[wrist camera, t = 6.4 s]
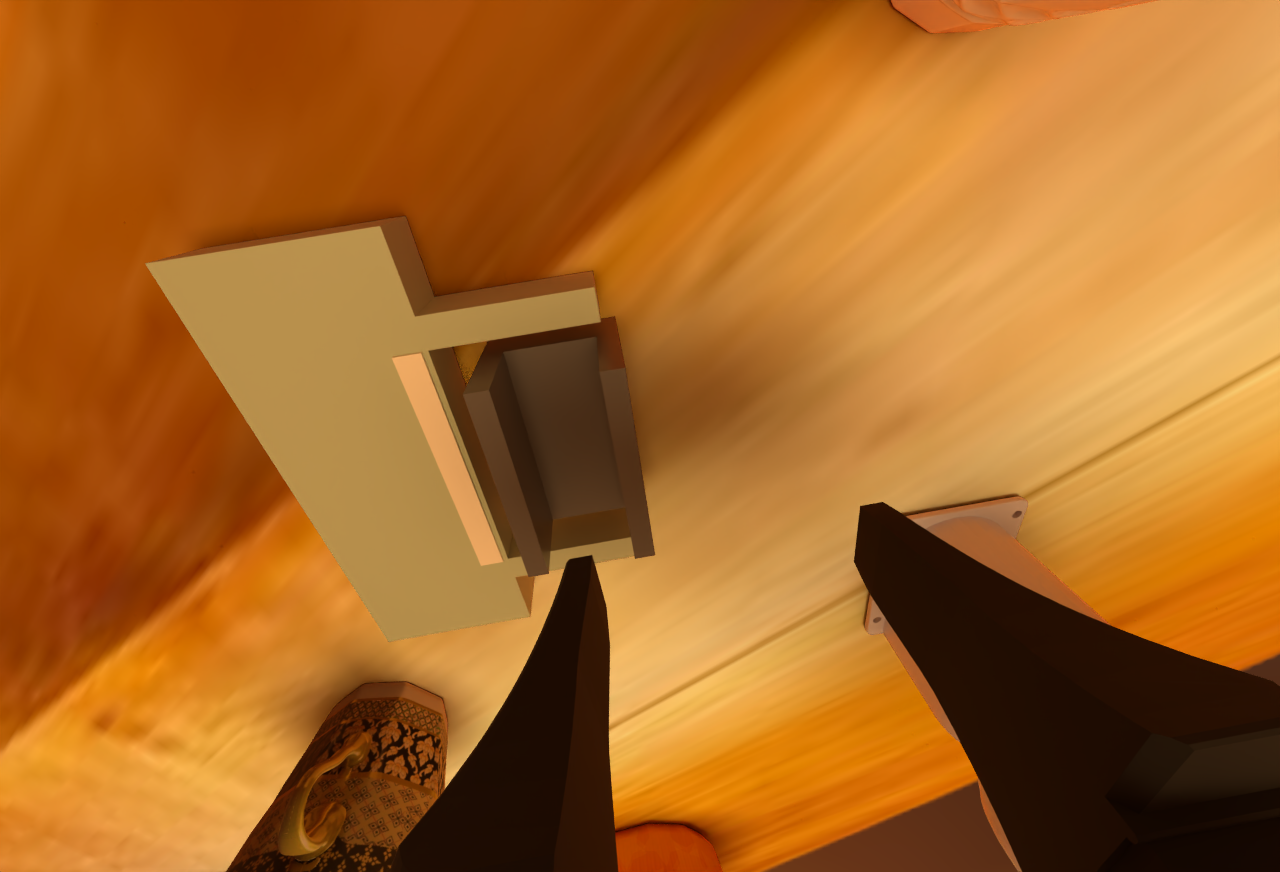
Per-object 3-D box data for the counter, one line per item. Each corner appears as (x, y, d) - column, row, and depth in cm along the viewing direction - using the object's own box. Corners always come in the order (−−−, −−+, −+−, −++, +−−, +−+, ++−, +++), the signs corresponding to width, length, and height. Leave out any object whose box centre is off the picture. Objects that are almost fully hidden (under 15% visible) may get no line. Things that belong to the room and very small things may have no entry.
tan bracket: (644, 558, 26) (650, 597, 24) (404, 601, 26) (387, 644, 24) (577, 188, 17) (577, 194, 15) (201, 248, 17) (141, 264, 14)
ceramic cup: (482, 749, 34) (449, 952, 25) (328, 759, 33) (238, 977, 24) (463, 625, 27) (411, 843, 19) (270, 632, 26) (119, 869, 18)
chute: (640, 475, 24) (655, 555, 19) (538, 492, 24) (528, 577, 19) (614, 315, 19) (625, 367, 15) (490, 335, 19) (462, 394, 15)
